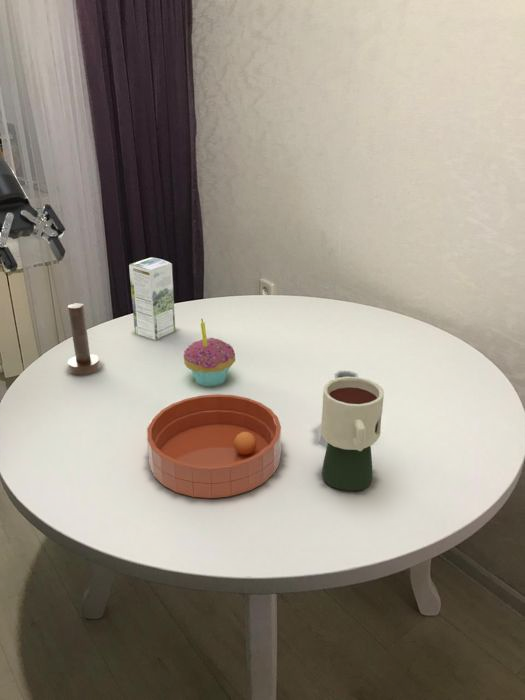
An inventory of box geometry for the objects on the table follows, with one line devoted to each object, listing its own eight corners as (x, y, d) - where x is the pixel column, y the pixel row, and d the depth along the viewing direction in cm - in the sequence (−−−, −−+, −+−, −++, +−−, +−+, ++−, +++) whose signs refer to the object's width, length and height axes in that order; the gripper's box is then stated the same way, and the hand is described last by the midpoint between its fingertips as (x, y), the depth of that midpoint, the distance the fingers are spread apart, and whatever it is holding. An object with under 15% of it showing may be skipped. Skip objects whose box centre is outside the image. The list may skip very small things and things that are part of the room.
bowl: (149, 509, 70) (145, 474, 67) (150, 429, 85) (147, 399, 83) (291, 493, 72) (292, 460, 70) (268, 419, 87) (268, 389, 85)
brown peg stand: (67, 378, 99) (56, 312, 94) (71, 365, 103) (61, 300, 98) (99, 376, 99) (90, 310, 94) (101, 362, 104) (93, 299, 99)
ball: (235, 460, 77) (234, 441, 76) (232, 447, 80) (232, 428, 79) (258, 458, 78) (258, 439, 76) (254, 445, 80) (254, 426, 79)
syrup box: (155, 325, 119) (149, 256, 113) (176, 332, 116) (172, 261, 110) (134, 334, 115) (127, 263, 109) (156, 342, 112) (150, 268, 106)
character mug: (385, 507, 70) (396, 413, 64) (325, 510, 69) (331, 416, 64) (364, 453, 80) (372, 367, 74) (312, 455, 79) (316, 369, 74)
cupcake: (224, 396, 93) (221, 327, 88) (175, 388, 96) (170, 320, 91) (242, 372, 101) (241, 307, 95) (197, 365, 103) (194, 301, 98)
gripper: (-43, 178, 96) (2, 261, 94) (39, 168, 105) (82, 243, 103) (-49, 205, 101) (-6, 284, 99) (30, 194, 110) (70, 266, 108)
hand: (38, 263), depth 101 cm, fingers open, 8 cm apart
